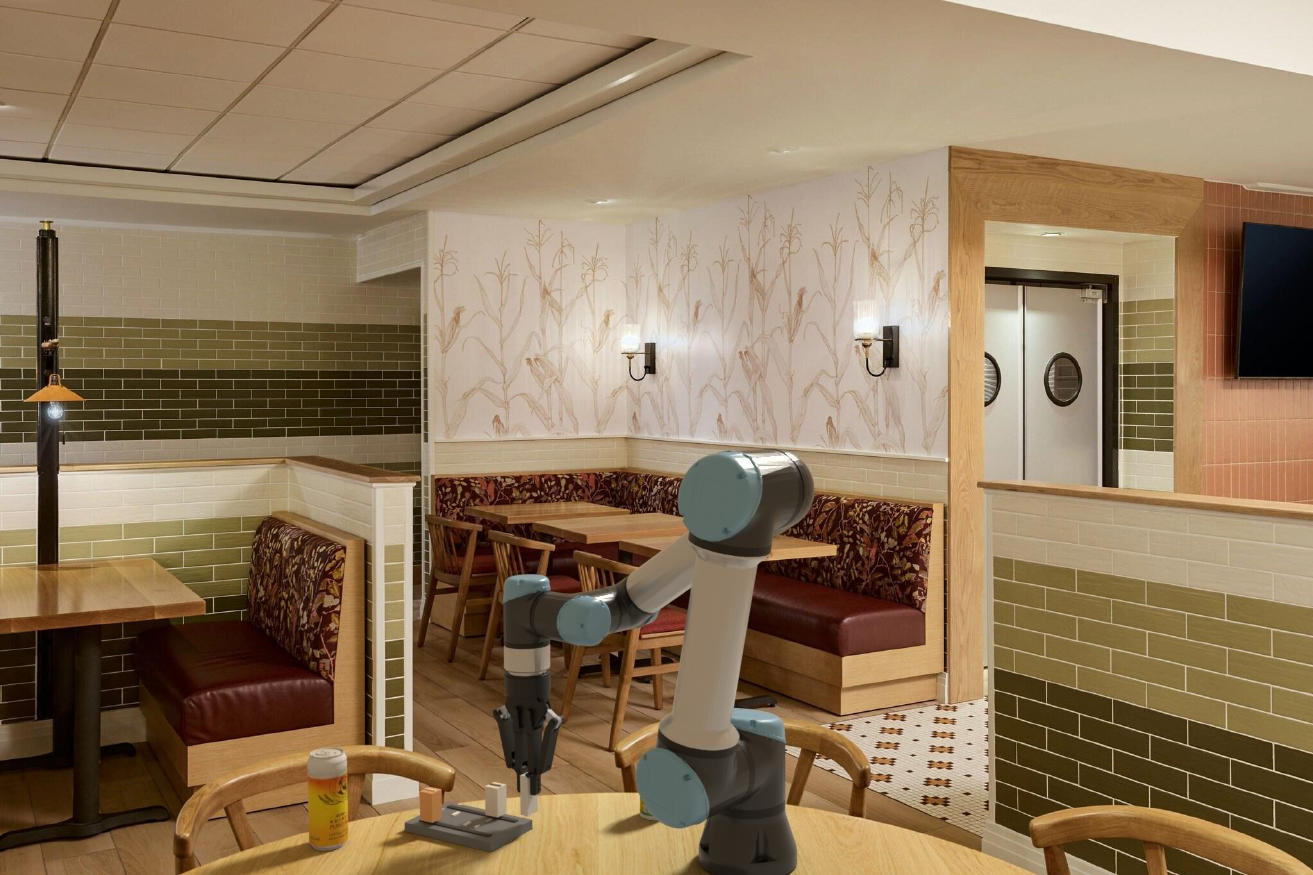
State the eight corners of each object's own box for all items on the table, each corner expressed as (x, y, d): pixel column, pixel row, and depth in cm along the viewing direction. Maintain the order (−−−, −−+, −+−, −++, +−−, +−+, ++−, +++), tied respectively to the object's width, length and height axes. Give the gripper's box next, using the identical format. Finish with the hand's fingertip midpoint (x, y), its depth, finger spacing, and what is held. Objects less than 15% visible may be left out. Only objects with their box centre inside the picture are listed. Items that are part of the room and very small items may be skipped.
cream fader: (506, 812, 189) (506, 783, 189) (497, 817, 187) (497, 787, 187) (494, 810, 190) (493, 780, 190) (485, 814, 188) (484, 785, 188)
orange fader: (442, 817, 187) (441, 788, 187) (432, 822, 185) (431, 792, 185) (429, 815, 188) (429, 785, 188) (420, 819, 186) (419, 789, 186)
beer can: (337, 853, 178) (335, 759, 178) (301, 850, 179) (300, 756, 179) (355, 838, 184) (353, 747, 183) (320, 835, 185) (318, 745, 185)
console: (532, 828, 187) (532, 818, 187) (491, 851, 178) (491, 841, 178) (448, 809, 196) (448, 799, 196) (404, 831, 187) (404, 820, 187)
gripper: (573, 669, 184) (575, 812, 185) (509, 661, 191) (511, 799, 192) (546, 679, 178) (548, 827, 179) (481, 670, 184) (483, 813, 185)
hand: (529, 812), depth 185 cm, fingers closed
